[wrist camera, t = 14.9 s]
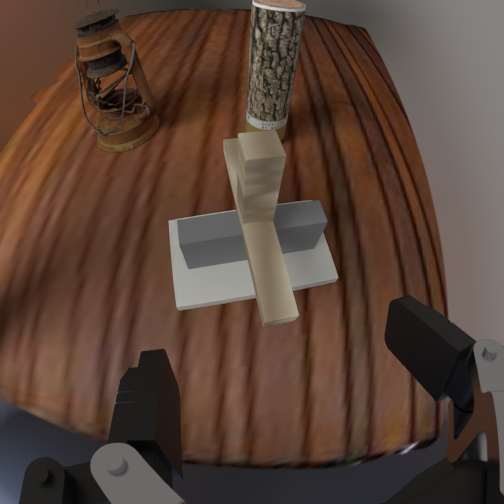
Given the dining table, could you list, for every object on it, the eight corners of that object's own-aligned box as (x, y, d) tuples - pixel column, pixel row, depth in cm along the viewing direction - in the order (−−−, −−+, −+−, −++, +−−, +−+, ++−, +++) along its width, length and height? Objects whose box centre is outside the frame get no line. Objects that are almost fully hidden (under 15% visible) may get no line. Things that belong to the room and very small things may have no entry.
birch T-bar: (262, 327, 25) (279, 287, 16) (223, 151, 35) (221, 77, 25) (294, 320, 26) (330, 277, 16) (247, 148, 35) (251, 75, 25)
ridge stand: (178, 310, 34) (163, 289, 27) (170, 226, 39) (157, 190, 32) (335, 282, 36) (357, 255, 29) (309, 205, 41) (322, 169, 34)
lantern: (180, 116, 50) (164, -30, 23) (142, 161, 44) (97, -7, 17) (117, 105, 52) (87, -14, 25) (79, 144, 46) (28, 17, 19)
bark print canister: (288, 130, 49) (311, 3, 26) (276, 153, 46) (298, 11, 23) (254, 120, 50) (263, -5, 27) (238, 141, 47) (243, 2, 24)
